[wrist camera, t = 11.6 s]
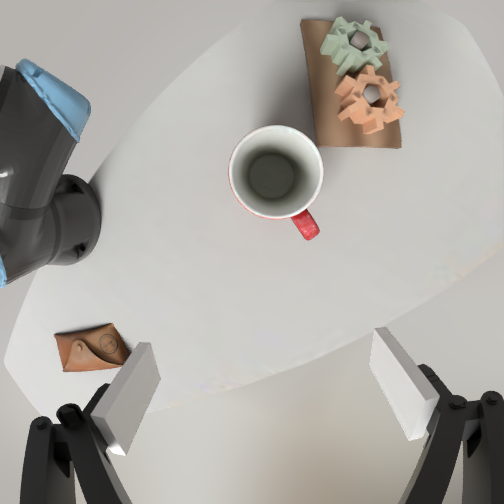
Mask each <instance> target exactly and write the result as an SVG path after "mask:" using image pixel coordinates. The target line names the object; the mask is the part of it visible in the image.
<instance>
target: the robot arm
mask: <svg viewBox="0 0 504 504" xmlns="http://www.w3.org/2000/svg"><path fill="white" fill-rule="evenodd" d="M90 113H91V106H90V103H89V101H88V100H87V99H86V98H85V97H84V96H83V95H81V94H80V93H78V92H77V91H76V90H74V89H73V88H71V87H70V86H68V85H67V84H65V83H64V82H62V81H61V80H59V79H58V78H56V77H54V76H53V75H52V74H50V73H48V72H47V71H45V70H44V69H42V68H40V67H39V66H37V65H36V64H34V63H33V62H31V61H30V60H28V59H22V60H21V61H20V62H19V63H18V64H17V65H16V69H12V68H10V67H7V66H4V65H1V66H0V288H3V287H4V286H5V285H7V284H9V283H11V282H13V281H14V280H16V279H18V278H20V277H22V276H24V275H26V274H28V273H30V272H32V271H34V270H36V269H38V268H40V267H42V266H44V265H46V264H47V265H63V266H65V265H71V264H74V263H77V262H79V261H81V260H83V259H84V258H86V257H87V256H88V255H89V254H90V253H91V252H92V250H93V249H94V247H95V245H96V243H97V240H98V237H99V233H100V225H101V217H100V209H99V205H98V202H97V199H96V196H95V194H94V192H93V191H92V189H91V188H90V186H89V185H88V184H87V183H86V182H85V181H84V180H83V179H81V178H79V177H77V176H74V175H69V174H65V175H62V173H63V171H64V169H65V167H66V165H67V162H68V160H69V158H70V156H71V154H72V151H73V150H74V148H75V146H76V144H77V143H78V142H79V141H80V135H81V133H82V131H83V128H84V126H85V124H86V122H87V120H88V118H89V116H90ZM369 367H370V369H371V370H372V372H373V374H374V376H375V378H376V379H377V381H378V383H379V385H380V387H381V389H382V390H383V392H384V394H385V396H386V398H387V400H388V402H389V404H390V405H391V407H392V409H393V411H394V413H395V415H396V417H397V419H398V421H399V423H400V425H401V426H402V428H403V430H404V432H405V434H406V436H407V438H408V440H409V441H411V440H414V439H418V438H420V437H423V435H424V433H425V431H426V429H427V431H428V432H429V436H428V438H427V441H426V442H425V444H424V446H423V448H424V449H423V451H422V454H421V457H420V459H419V461H418V463H417V466H416V468H415V470H414V473H413V475H412V477H411V479H410V481H409V483H408V485H407V487H406V490H405V491H404V494H403V495H402V497H401V499H400V501H399V503H398V504H442V501H443V499H444V496H445V494H446V491H447V488H448V485H449V482H450V479H451V476H452V473H453V470H454V467H455V463H456V460H457V456H458V453H459V449H460V445H461V441H463V494H462V504H504V400H503V397H502V395H500V394H499V393H498V392H495V391H487V392H485V393H484V394H483V395H482V397H481V399H480V400H477V401H467V400H466V399H465V398H464V397H462V396H459V395H452V393H451V392H450V391H449V390H448V389H447V387H446V386H445V385H444V383H443V382H442V381H441V380H440V378H439V377H438V376H437V375H436V374H435V372H434V371H433V370H432V369H431V368H430V367H428V366H427V365H425V364H421V365H418V366H417V365H416V364H415V362H414V361H413V360H412V359H411V357H410V356H409V355H408V354H407V352H406V351H405V350H404V349H403V347H402V346H401V345H400V344H399V342H398V341H397V340H396V339H395V337H394V336H393V335H392V334H391V332H390V331H389V330H388V329H387V328H386V327H382V328H375V329H374V337H373V344H372V351H371V359H370V365H369ZM160 379H161V378H160V375H159V372H158V368H157V365H156V361H155V358H154V354H153V350H152V347H151V343H142V342H139V343H138V345H137V346H136V348H135V349H134V350H133V352H132V353H131V355H130V356H129V358H128V359H127V361H126V362H125V363H124V365H123V366H122V368H121V369H120V371H119V372H118V374H117V375H116V377H115V378H114V380H113V381H112V383H111V384H107V383H105V384H104V385H102V386H101V387H100V388H98V390H97V391H96V393H95V394H94V396H93V397H92V398H91V400H90V401H89V403H88V404H87V406H86V407H85V408H84V410H83V411H81V409H80V407H79V406H78V405H76V404H72V403H70V404H65V405H63V406H61V407H60V408H59V409H58V411H57V413H56V416H57V418H58V419H59V421H60V423H61V424H53V423H52V421H51V420H50V419H49V418H48V417H45V416H41V417H38V418H36V419H34V420H33V421H32V423H31V425H30V430H29V435H28V440H27V445H26V451H25V458H24V464H23V472H22V481H21V492H20V504H76V498H75V480H74V468H75V471H76V474H77V477H78V480H79V483H80V486H81V489H82V492H83V494H84V497H85V500H86V502H87V504H132V502H131V500H130V499H129V497H128V495H127V493H126V491H125V490H124V488H123V486H122V484H121V482H120V480H119V478H118V476H117V474H116V472H115V469H114V467H113V466H112V463H111V461H110V459H109V456H108V454H107V453H106V449H107V447H108V446H109V448H110V450H111V451H112V452H113V453H116V454H120V455H125V456H126V454H127V452H128V450H129V448H130V445H131V443H132V441H133V438H134V436H135V434H136V432H137V430H138V427H139V425H140V423H141V421H142V418H143V416H144V414H145V412H146V410H147V407H148V405H149V403H150V401H151V399H152V396H153V394H154V392H155V390H156V388H157V386H158V383H159V381H160Z"/></svg>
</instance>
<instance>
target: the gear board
mask: <svg viewBox="0 0 504 504" xmlns="http://www.w3.org/2000/svg"><path fill="white" fill-rule="evenodd" d="M333 24H334V22H332V21H318V20H301V23H300V26H301V32H302V38H303V43H304V50H305V56H306V63H307V69H308V77H309V84H310V92H311V100H312V108H313V118H314V127H315V138H316V147H374V148H395V149H398V148H402V146H401V136H400V127H399V119H397V120H394V121H392V122H389V123H386V122H384V121H383V126H384V129H382V130H379V131H377V132H374V133H372V134H363V126H362V124H354V123H353V121H352V120H351V118H350V117H348V118H346V119H344V120H343V121H341V120H340V119H339V117H338V116H337V115H338V114H340V113H341V112H342V111H343V110H344V108H343V107H342V105H341V104H340V103H341V101H342V99H343V96H341V95H339V94H337V93H335V92H334V91H335V89H336V87H337V85H338V84H339V83H340V82H341V81H342V80H343V78H344V77H345V76H346V75H347V76H349V77H351V78H353V79H355V76H356V75H357V74H358V73H359V72H360V71H357V72H355V73H351V72H349V71H348V70H347V71H346V73H345V74H344V75H343V76H340V75H338V74H336V72H337V70H338V68H339V66H338V65H337V64H335V63H333V62H332V59H331V55H321V52H320V48H321V46H322V44H323V42H324V40H325V38H326V36H327V34H329V32H330V30H331V28H332V26H333ZM370 30H372V31H374V32H375V33H377V35H378V39H379V40H380V41H383V38H382V34H381V30H380V28H377V27H371V26H370ZM368 41H369V37H368V35H367V34H365V33H364V32H361V31H358V32H356V33H355V35H354V36H353V38H352V39H351V40H350V42H349V45H351V46H353V47H354V48H356V49H358V50H360V51H361V50H362V49H363V48H364V46H365V45H366V44H367V43H368ZM379 61H380V62H381V63H382V66H381V67H380V68H378V69H377V70H376V71H375V75H376V76H384V78H385V79H386V80H387V82H388V83H389V84H390V83H392V77H391V72H390V67H389V62H388V58H387V54H386V52H385V53H384V54H383V55H382V56H381V57H380V58H379ZM362 95H363V97H364V98H365V100H366V101H367V102H368V104H369V105H370V107H374V106H375V105H374V103H373V102H375V101H376V100H378V99H379V98H380V91H379V90H378V88H376V87H375V86H368V87H367V88H366V89H365V90H364V91H363V93H362Z"/></svg>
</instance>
